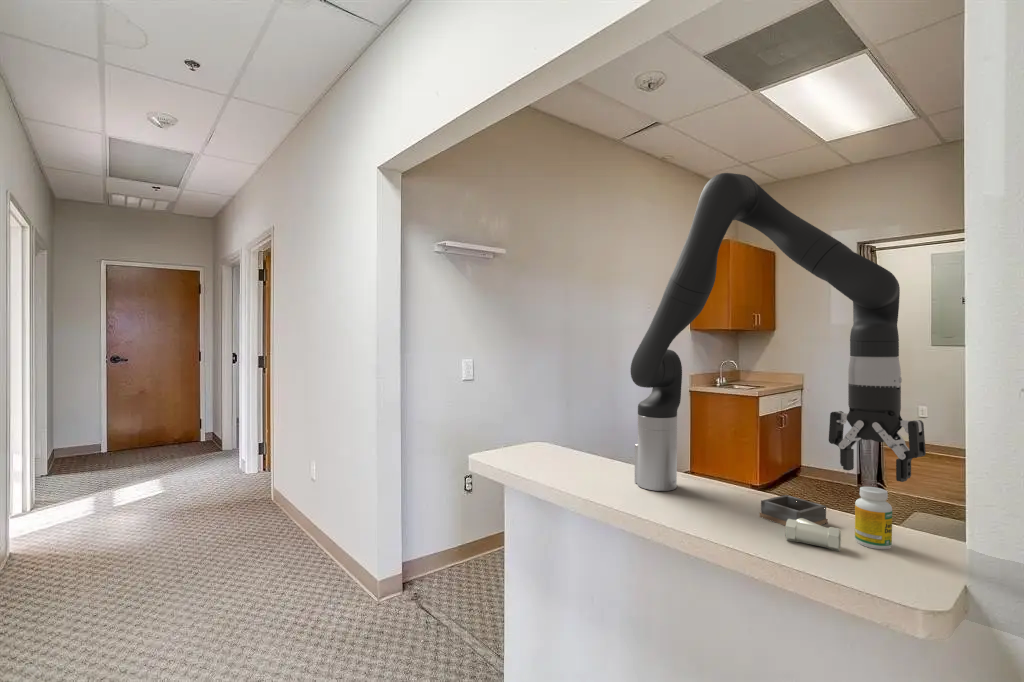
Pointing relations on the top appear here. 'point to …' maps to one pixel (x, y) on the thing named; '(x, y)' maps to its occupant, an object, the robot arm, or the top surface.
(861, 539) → the supplement bottle
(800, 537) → the pipe fitting
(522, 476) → the top surface
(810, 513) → the square holder
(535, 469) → the top surface
